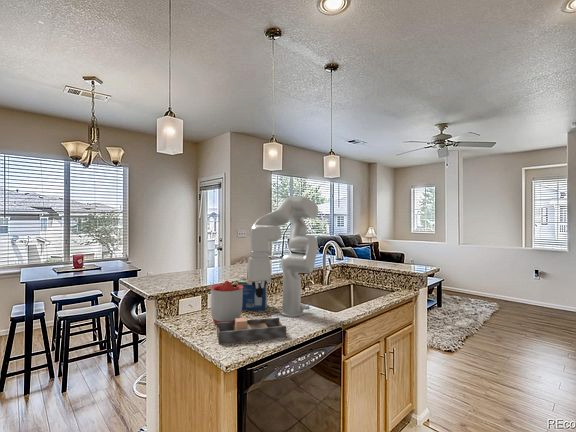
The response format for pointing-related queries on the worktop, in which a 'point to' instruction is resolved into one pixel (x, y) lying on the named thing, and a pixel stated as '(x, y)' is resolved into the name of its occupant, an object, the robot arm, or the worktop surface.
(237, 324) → the terracotta block
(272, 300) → the worktop surface
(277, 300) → the worktop surface
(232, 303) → the citrus juicer
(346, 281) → the worktop surface
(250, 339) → the box
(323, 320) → the worktop surface
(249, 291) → the protein box
